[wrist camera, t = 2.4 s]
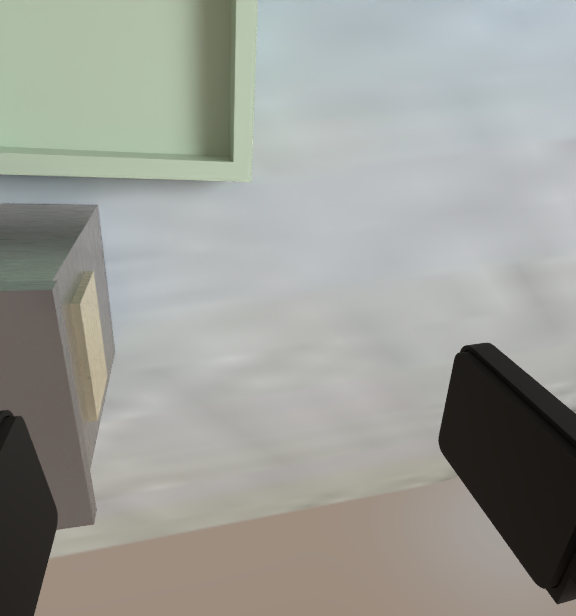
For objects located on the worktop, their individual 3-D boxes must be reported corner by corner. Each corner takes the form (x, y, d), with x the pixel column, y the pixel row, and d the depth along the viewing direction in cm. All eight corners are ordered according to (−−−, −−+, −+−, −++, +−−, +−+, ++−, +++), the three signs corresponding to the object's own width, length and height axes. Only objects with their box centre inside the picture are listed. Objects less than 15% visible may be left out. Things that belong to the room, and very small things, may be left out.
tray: (252, -151, 16) (263, -184, 14) (244, 172, 21) (251, 181, 19) (-121, -230, 14) (-171, -283, 12) (-29, 162, 19) (-53, 172, 17)
